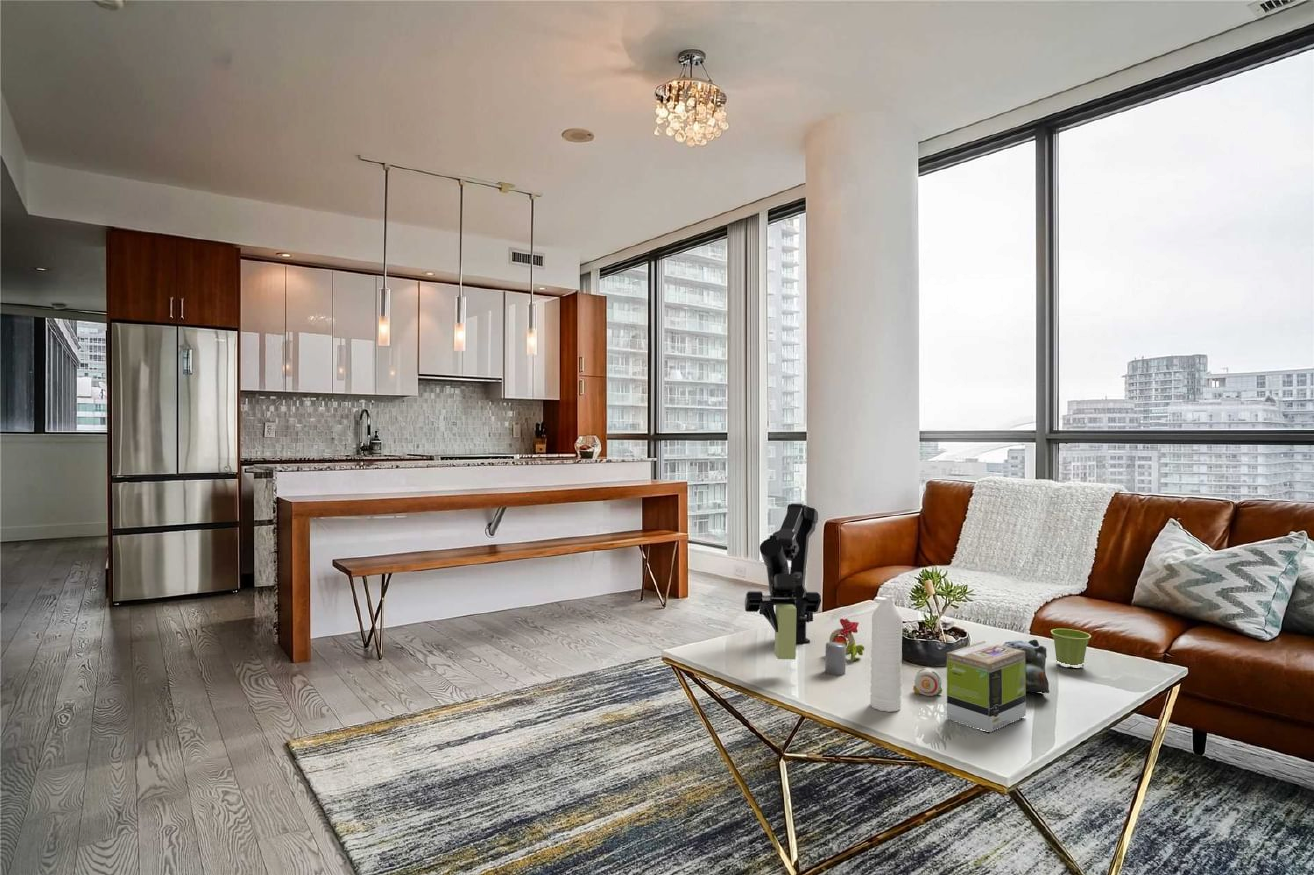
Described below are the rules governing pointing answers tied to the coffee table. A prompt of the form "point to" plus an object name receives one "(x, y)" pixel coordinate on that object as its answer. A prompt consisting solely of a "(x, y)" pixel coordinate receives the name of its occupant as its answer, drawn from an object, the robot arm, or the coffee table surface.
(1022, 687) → the tea box
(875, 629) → the water bottle
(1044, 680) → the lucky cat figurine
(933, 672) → the roller toy
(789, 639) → the olive brick
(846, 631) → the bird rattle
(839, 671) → the grey cylinder
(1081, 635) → the plant pot
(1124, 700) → the coffee table surface
